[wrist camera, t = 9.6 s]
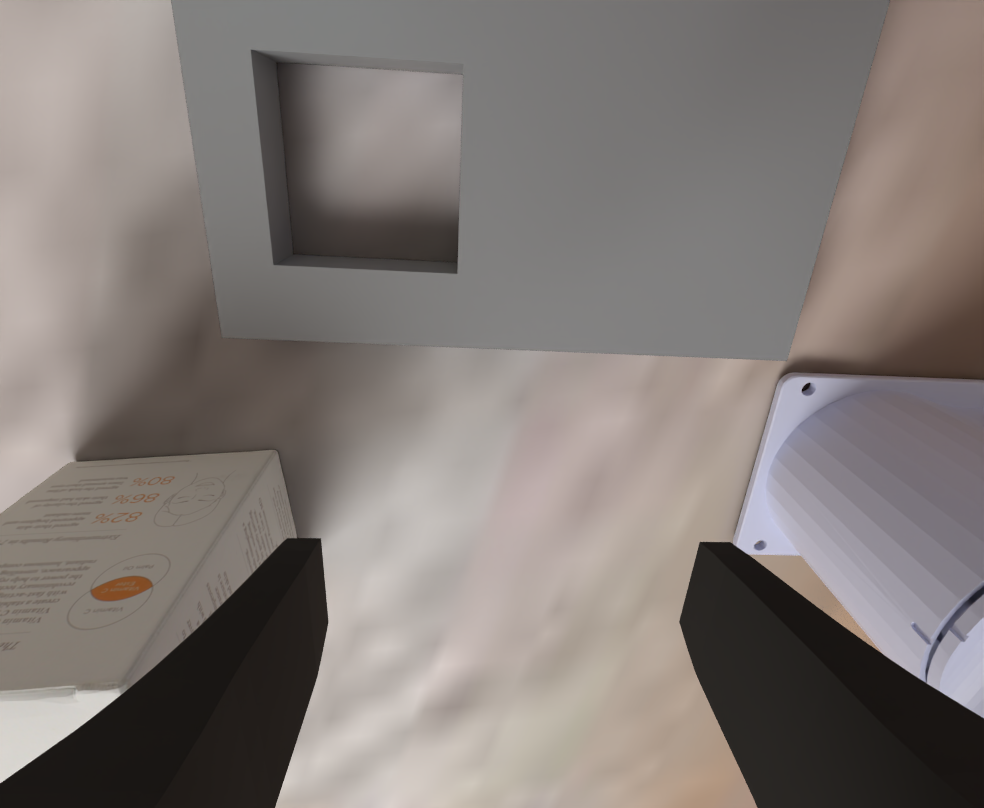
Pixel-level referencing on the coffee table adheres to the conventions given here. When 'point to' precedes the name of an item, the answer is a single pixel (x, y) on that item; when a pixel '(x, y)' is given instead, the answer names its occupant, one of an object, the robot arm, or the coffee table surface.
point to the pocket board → (548, 169)
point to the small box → (120, 578)
